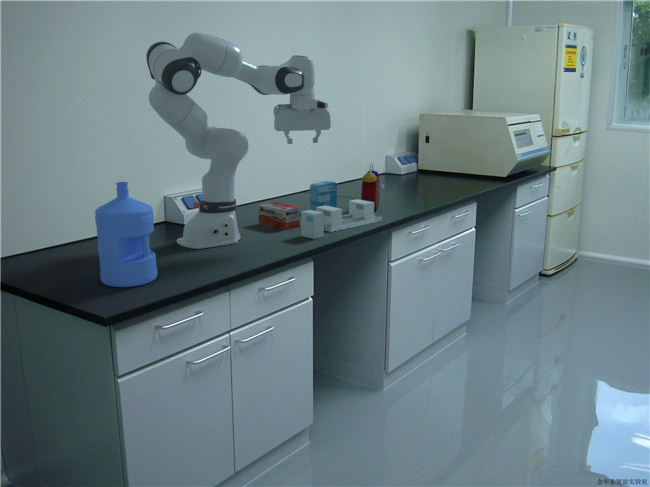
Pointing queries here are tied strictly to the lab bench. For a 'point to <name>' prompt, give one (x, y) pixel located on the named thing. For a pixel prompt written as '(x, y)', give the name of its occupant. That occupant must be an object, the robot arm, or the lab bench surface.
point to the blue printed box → (323, 194)
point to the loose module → (312, 224)
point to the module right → (361, 209)
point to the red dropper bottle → (371, 187)
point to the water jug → (125, 241)
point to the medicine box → (279, 215)
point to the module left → (331, 215)
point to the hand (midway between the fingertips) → (302, 143)
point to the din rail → (351, 222)
